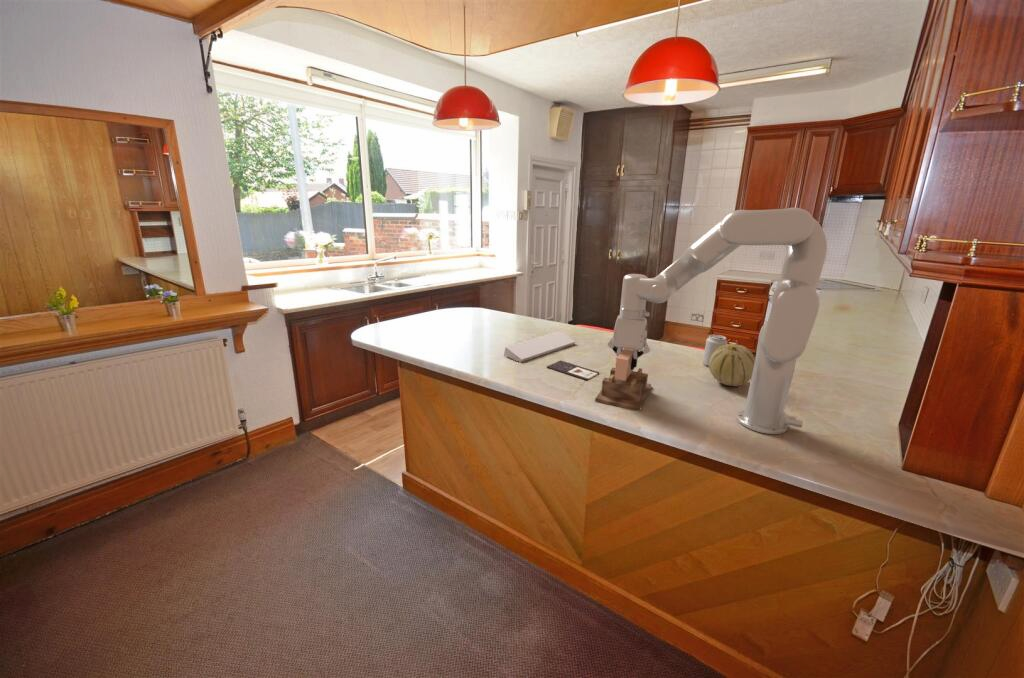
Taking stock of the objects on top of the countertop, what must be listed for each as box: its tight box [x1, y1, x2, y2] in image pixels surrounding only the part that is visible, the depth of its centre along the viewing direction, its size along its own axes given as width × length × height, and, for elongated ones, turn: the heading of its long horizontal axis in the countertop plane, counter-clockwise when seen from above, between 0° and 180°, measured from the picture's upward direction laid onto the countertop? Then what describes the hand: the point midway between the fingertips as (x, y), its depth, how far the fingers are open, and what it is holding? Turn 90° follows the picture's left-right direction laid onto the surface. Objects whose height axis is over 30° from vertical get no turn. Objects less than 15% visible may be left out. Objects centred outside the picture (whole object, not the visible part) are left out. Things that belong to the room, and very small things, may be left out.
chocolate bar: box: [546, 360, 600, 381], centre depth 158 cm, size 9×1×18 cm
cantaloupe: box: [708, 343, 756, 387], centre depth 145 cm, size 15×15×15 cm
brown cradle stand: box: [594, 367, 652, 412], centre depth 138 cm, size 14×20×8 cm
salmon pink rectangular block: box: [614, 348, 633, 381], centre depth 136 cm, size 4×16×7 cm, turn 152°
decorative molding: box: [503, 330, 577, 363], centre depth 180 cm, size 34×5×10 cm
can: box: [702, 334, 728, 368], centre depth 162 cm, size 8×8×12 cm
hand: (626, 367), depth 136 cm, fingers closed on salmon pink rectangular block, 3 cm apart
